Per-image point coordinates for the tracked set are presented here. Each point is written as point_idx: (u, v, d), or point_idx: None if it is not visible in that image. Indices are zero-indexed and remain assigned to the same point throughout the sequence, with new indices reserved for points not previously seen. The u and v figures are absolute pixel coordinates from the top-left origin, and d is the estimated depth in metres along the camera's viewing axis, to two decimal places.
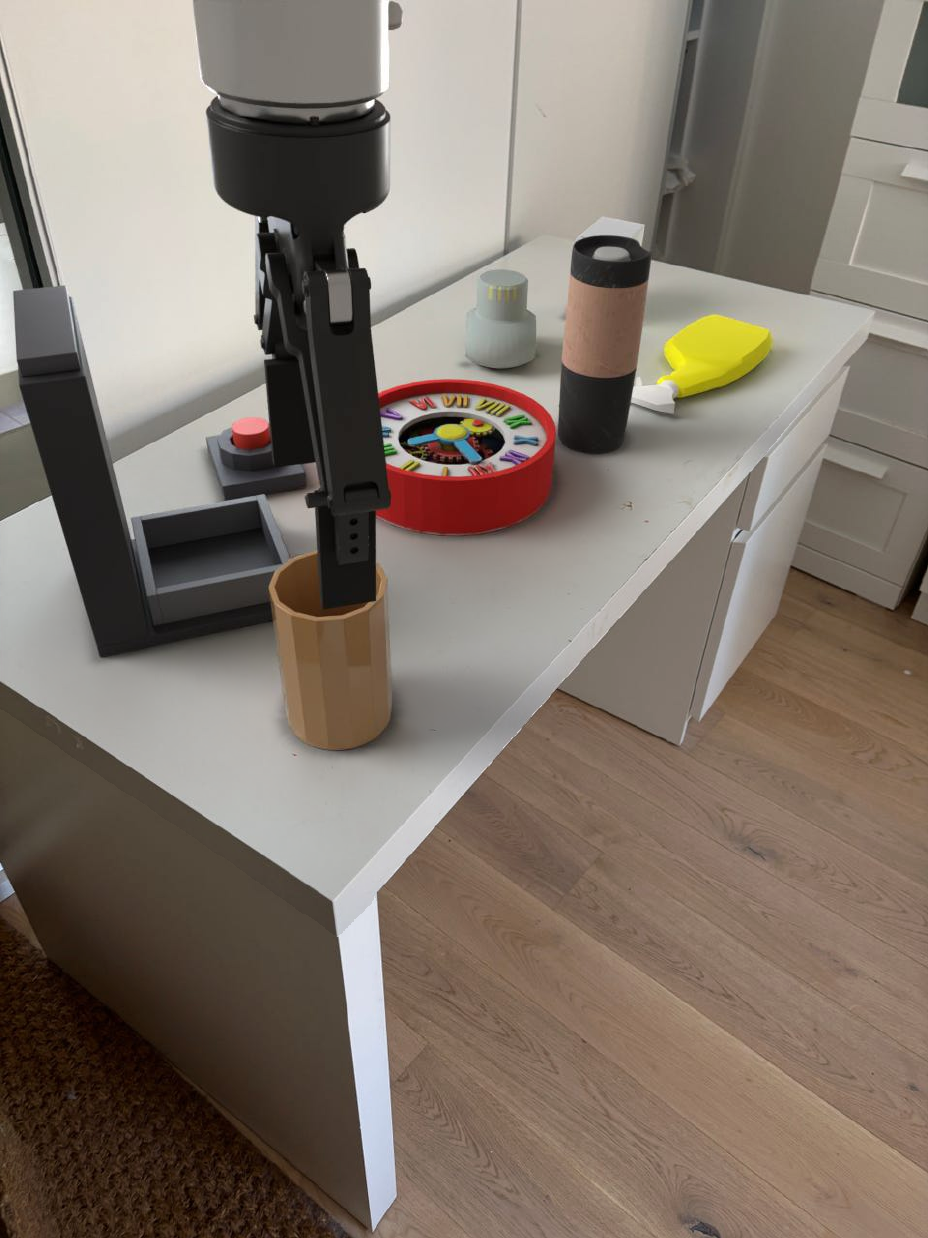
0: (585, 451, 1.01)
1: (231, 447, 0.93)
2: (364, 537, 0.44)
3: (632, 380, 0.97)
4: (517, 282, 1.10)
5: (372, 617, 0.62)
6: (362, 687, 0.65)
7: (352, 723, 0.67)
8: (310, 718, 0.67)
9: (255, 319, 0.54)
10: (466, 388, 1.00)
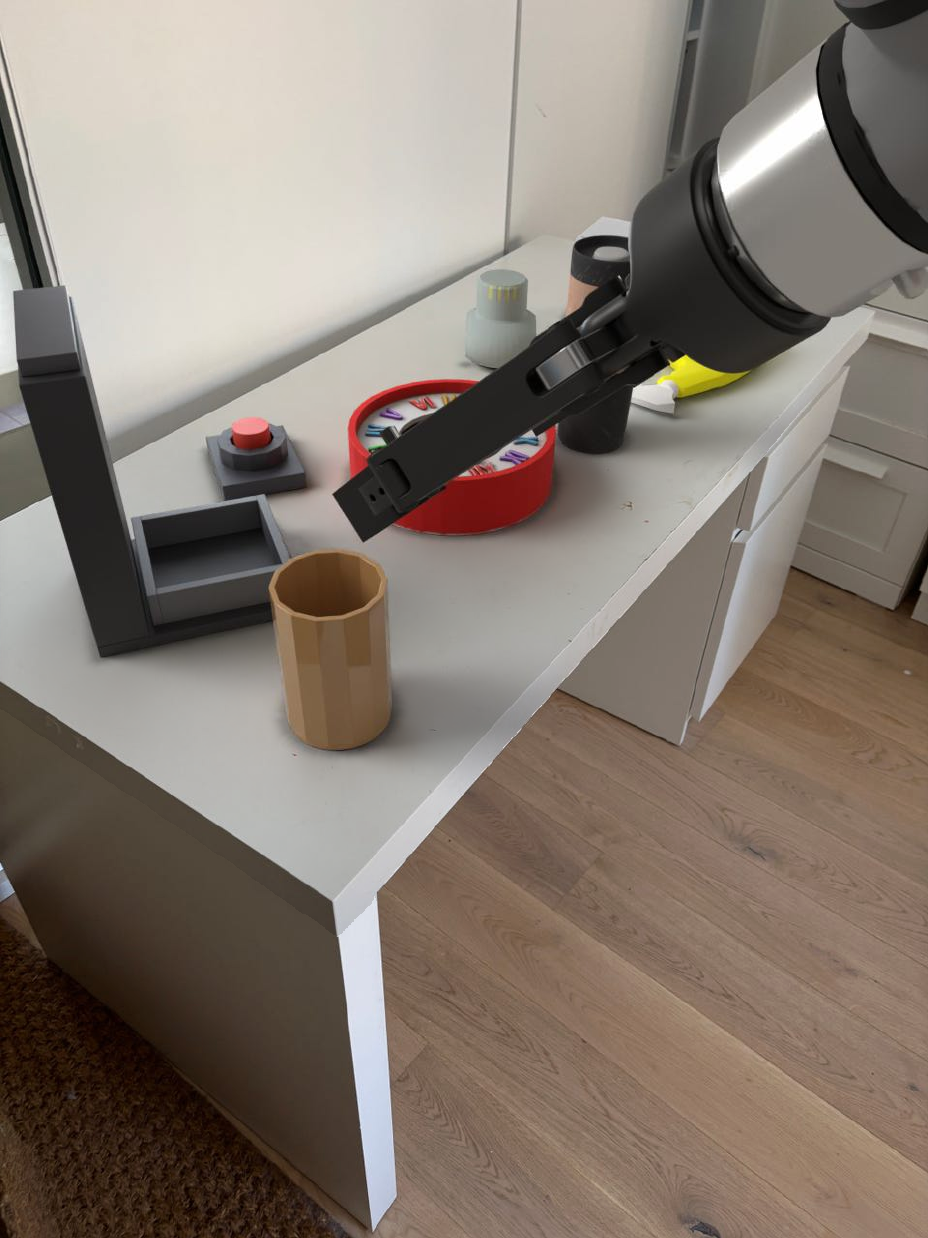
0: (585, 451, 1.01)
1: (231, 447, 0.93)
2: (386, 502, 0.41)
3: None
4: (517, 282, 1.10)
5: (372, 617, 0.62)
6: (362, 687, 0.65)
7: (352, 723, 0.67)
8: (310, 718, 0.67)
9: None
10: (466, 388, 1.00)
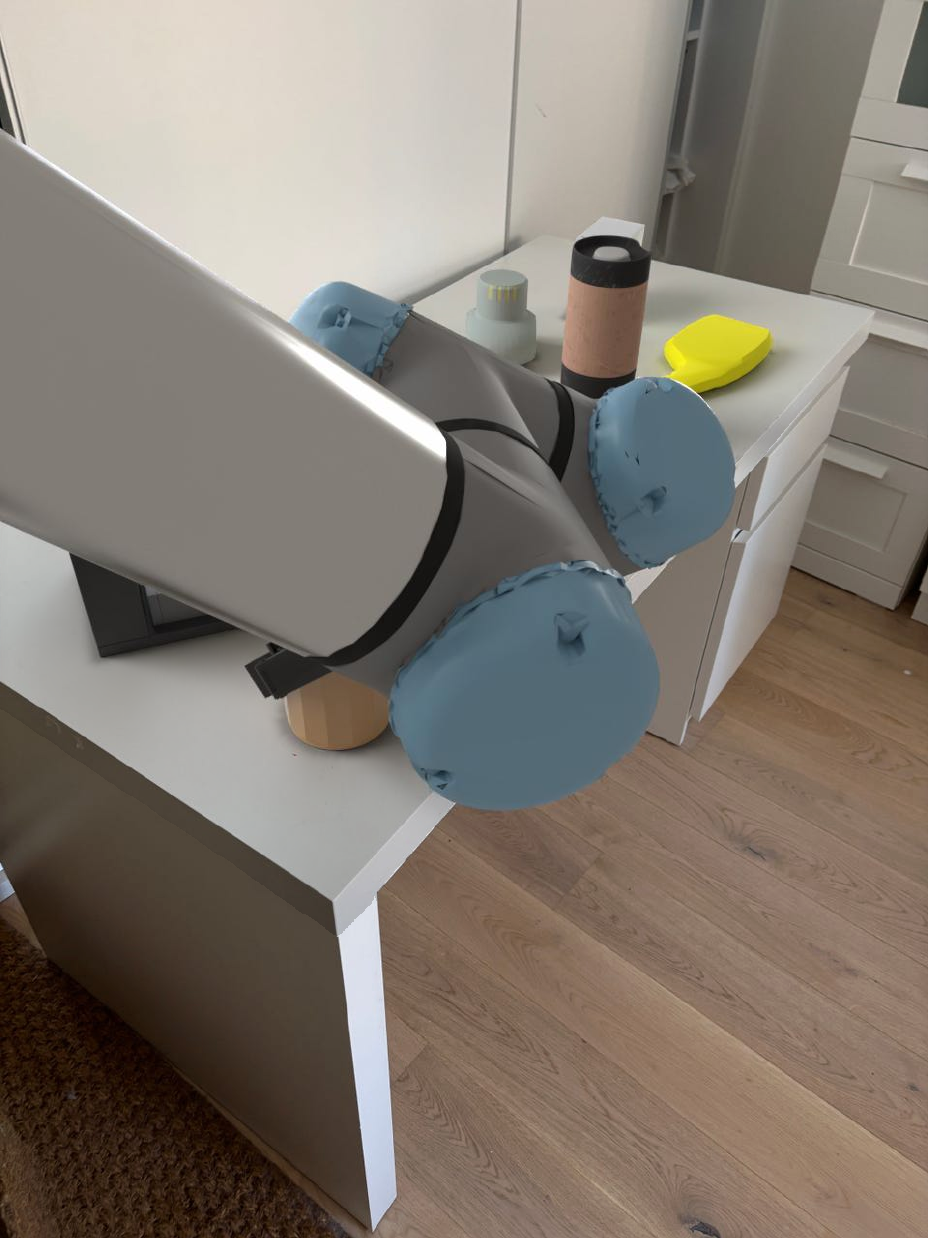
0: None
1: None
2: None
3: (632, 380, 0.97)
4: (517, 282, 1.10)
5: None
6: (362, 687, 0.65)
7: (352, 723, 0.67)
8: (310, 718, 0.67)
9: None
10: None
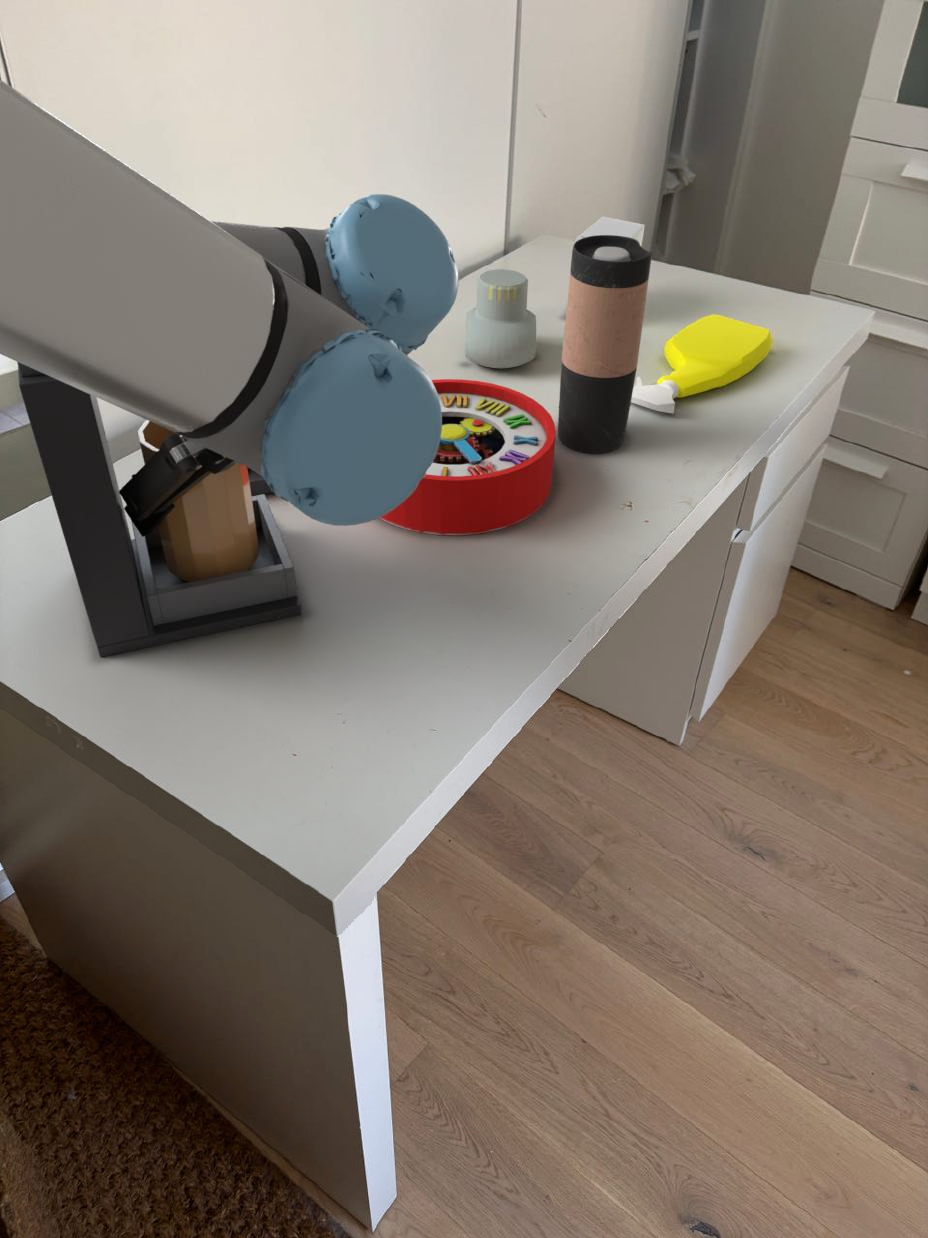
0: (585, 451, 1.01)
1: None
2: None
3: (632, 380, 0.97)
4: (517, 282, 1.10)
5: None
6: (222, 522, 0.76)
7: (216, 557, 0.77)
8: (179, 552, 0.77)
9: None
10: (466, 388, 1.00)
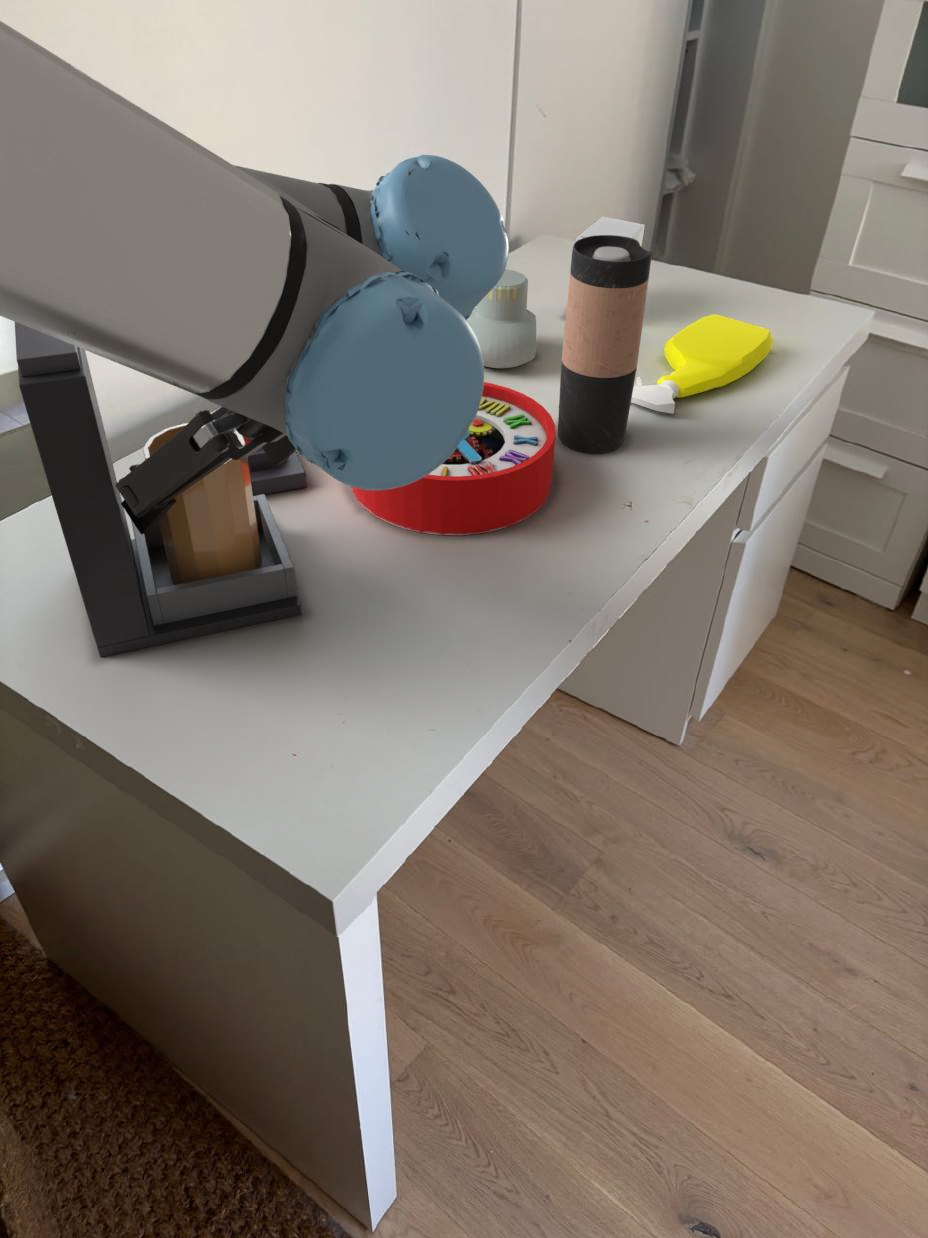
0: (585, 451, 1.01)
1: None
2: None
3: (632, 380, 0.97)
4: (517, 282, 1.10)
5: (229, 472, 0.74)
6: (226, 537, 0.77)
7: (220, 571, 0.78)
8: (184, 566, 0.78)
9: None
10: None
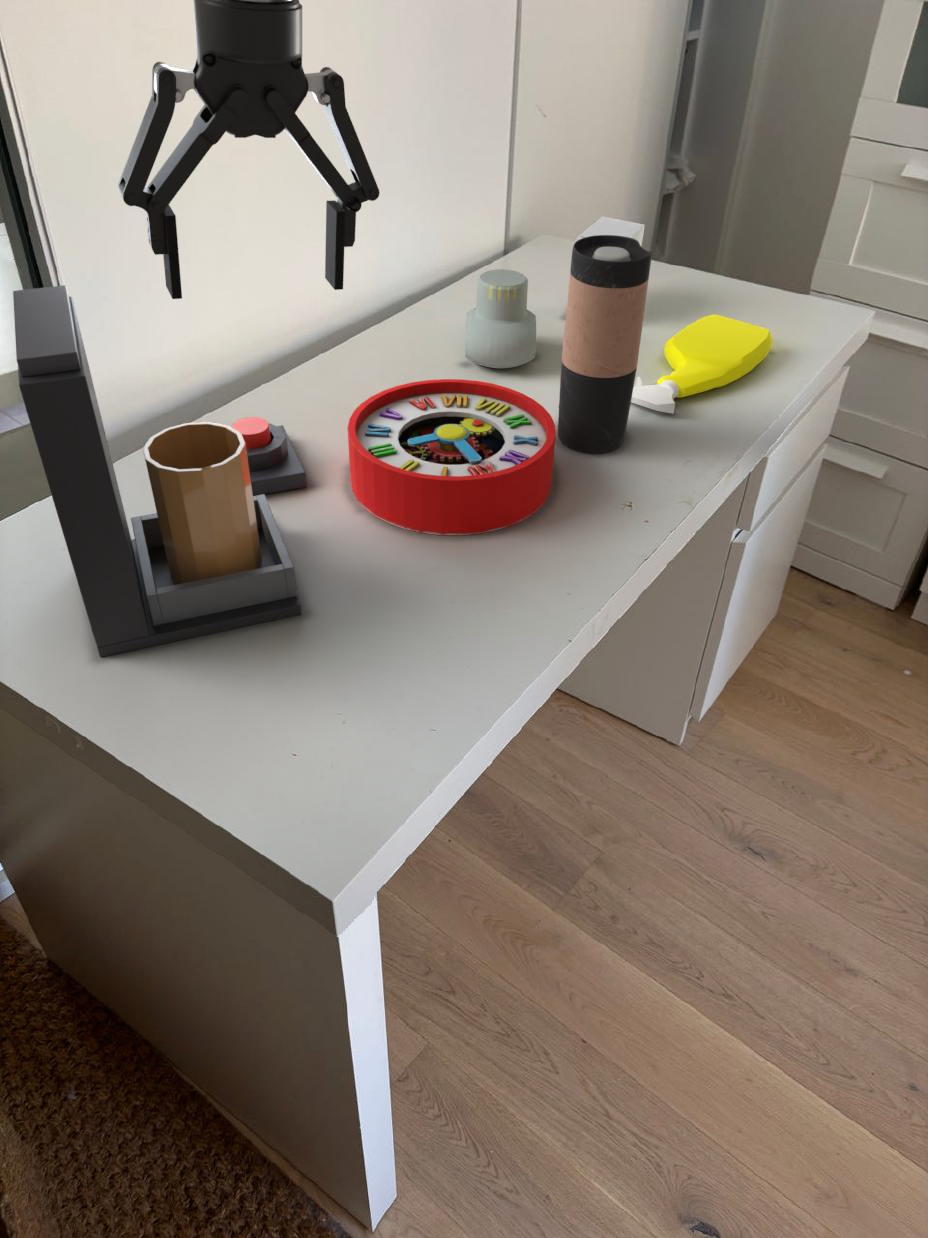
0: (585, 451, 1.01)
1: None
2: (149, 234, 0.75)
3: (632, 380, 0.97)
4: (517, 282, 1.10)
5: (229, 472, 0.74)
6: (226, 537, 0.77)
7: (220, 571, 0.78)
8: (184, 566, 0.78)
9: None
10: (466, 388, 1.00)
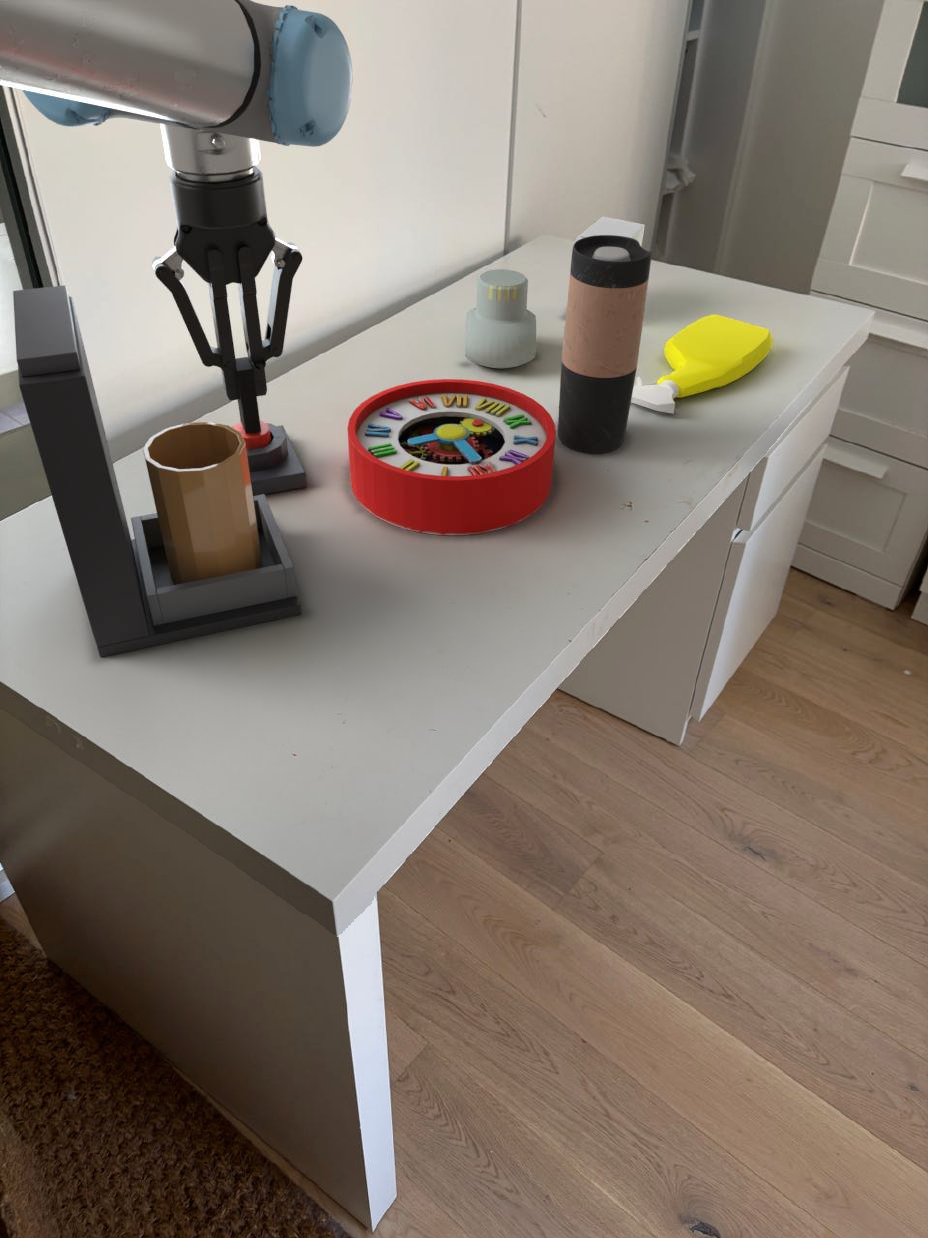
0: (585, 451, 1.01)
1: None
2: (225, 385, 0.90)
3: (632, 380, 0.97)
4: (517, 282, 1.10)
5: (229, 472, 0.74)
6: (226, 537, 0.77)
7: (220, 571, 0.78)
8: (184, 566, 0.78)
9: None
10: (466, 388, 1.00)
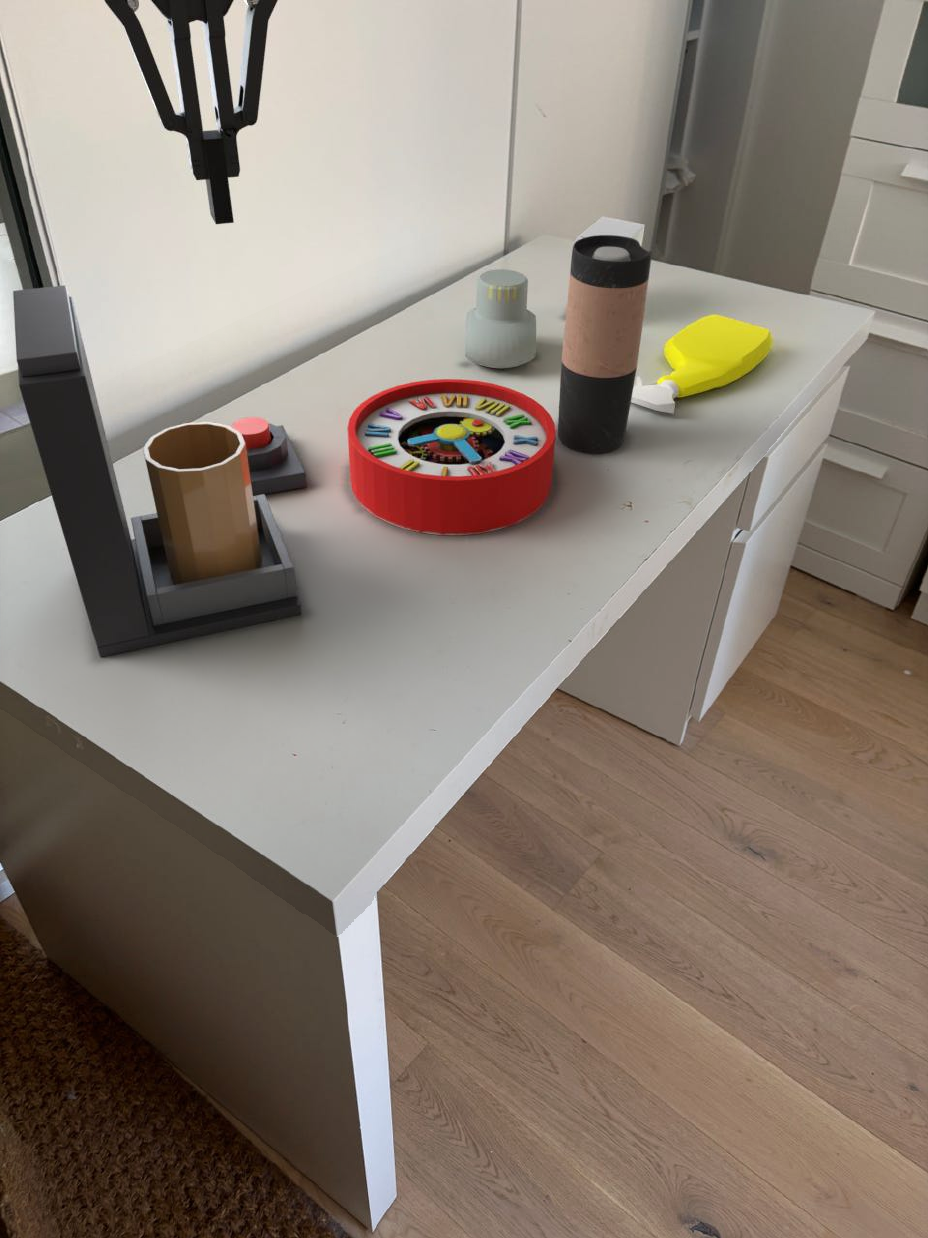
0: (585, 451, 1.01)
1: None
2: (190, 159, 0.78)
3: (632, 380, 0.97)
4: (517, 282, 1.10)
5: (229, 472, 0.74)
6: (226, 537, 0.77)
7: (220, 571, 0.78)
8: (184, 566, 0.78)
9: None
10: (466, 388, 1.00)
